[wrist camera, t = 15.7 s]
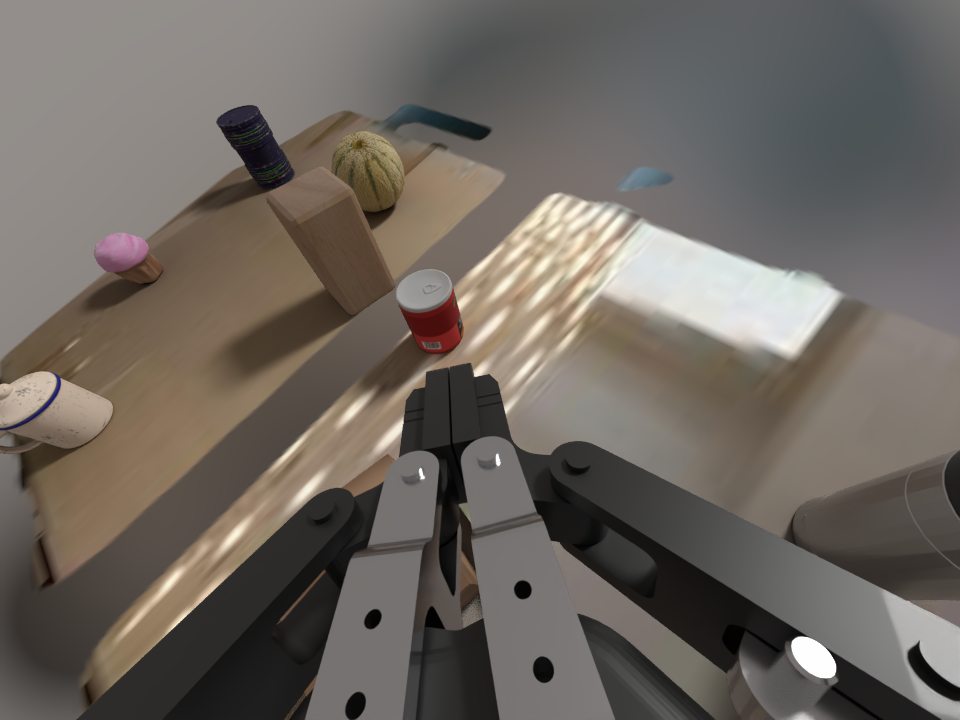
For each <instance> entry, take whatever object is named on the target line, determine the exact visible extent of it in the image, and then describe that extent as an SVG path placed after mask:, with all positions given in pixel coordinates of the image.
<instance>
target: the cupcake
mask: <svg viewBox="0 0 960 720" xmlns="http://www.w3.org/2000/svg"><path fill="white" fill-rule="evenodd" d="M148 250H149V246H148V244H147V243H146V242H145V241H144V240H143V239H141V238H140V237H138V236H133V235H129V234H125V233H115V234H112V235H110V236H108V237H106V238H105V239H103V240H102V241H100V242H99V243H97V245H96V247H95V250H94V256H95V258H96V261H97V262H98V264H99V265H100V266H101V267H102V268H103V269H104V270H105V271H107V272H110V273H115V274H117V275H119V276H121V277H123V278H125V279H127V280H129V281H132V282H136V283H139V284H143V283H147V282H153V281H155V280H156V279H157V278H158V277H159V275H160V274H161V272H162V271H163V267H162V265H161V264H160V263H159V262H158V261H157V260H156V259H155V258H154V257H153V255H152V254H151V253H150V252H149V251H148Z"/></svg>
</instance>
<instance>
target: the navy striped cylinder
mask: <svg viewBox="0 0 960 720" xmlns="http://www.w3.org/2000/svg"><path fill="white" fill-rule="evenodd" d="M216 123H217V124H218V126H219V127H220V128H221V130H222V132H223V133H224V136H225V137H226V139H227V140H228V141H229V142H230V144H231V146H232V147H233V148H234V149H235V150H236V151H237V152H238V154H239V155H240V157H241V158H242V160H243V161H244V163H245V166H246V168H247V170H248V171H249V173H250V174H251V176H252V177H253V178H254V179H255V181H256V182H257V184H258V185H259V187H260V188H262V189H275V188H278V187H280V186H282V185H284V184H286V183H288V182H289V181H291V180H292V178H293V177H294V175H295V172H294V170H293V169H292V168H291V165H290V163H289V161H288V159H287V157H286V156H285V154H284V152H283V151H282V149H280V147H279V146H278V144H277V142H276V141H275V139H274V137H273V133H272V131H271V129H270V128H269V126H268V124H267V122H266V120H265V119H264V117H263V116H262V114H261V113H260V110H259V109H258V107H257V106H254V105H247V106H241V107H237V108H234V109H232V110H229V111H228V112H226V113H224V114H223V115H221V116H220V117H219V118H218V119H217V121H216Z"/></svg>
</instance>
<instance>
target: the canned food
mask: <svg viewBox="0 0 960 720" xmlns="http://www.w3.org/2000/svg"><path fill="white" fill-rule="evenodd" d="M396 299H397V302H398V304H399V307H400V309H401V311H402V313H403V315H404V317H405V320H406V321H407V324H408V326H409V328H410V330H411V332H412V334H413V336H414V338H415V340H416V343H417V344H418V346H419V347H420V348H422V349H423V350H424V351H426V352H428V353H432V354H441V353H445V352H448V351H450V350H452V349H453V348H455V347H456V346H457V345H458V344H459V343H460V341H461V339H462V336H463V329H464V328H463V324H462V320H461V316H460V312H459V309H458V305H457V301H456V297H455V293H454V289H453V286H452V283H451V281H450V278H449V277H448V276H447V275H446V274H445V273H443V272H441V271H439V270H433V269H427V270H421V271H417V272H415V273H412V274H410V275H409V276H407V277H406V278H404V279H403V280H402V281H401V282H400V284H399V285H398V287H397V289H396Z"/></svg>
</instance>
